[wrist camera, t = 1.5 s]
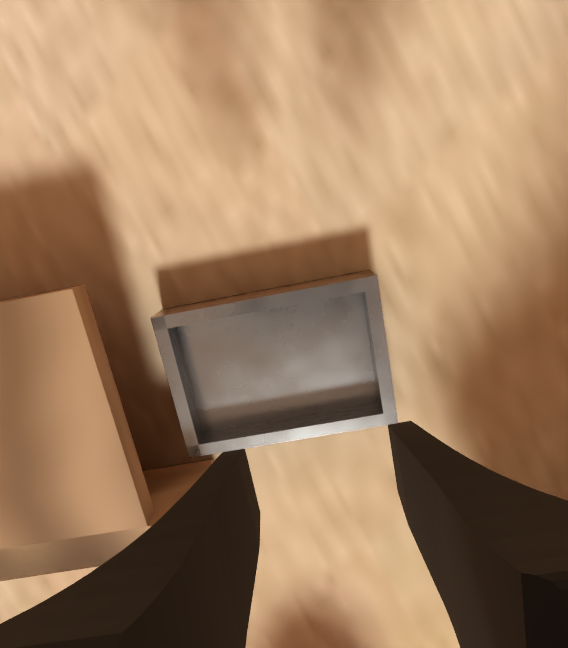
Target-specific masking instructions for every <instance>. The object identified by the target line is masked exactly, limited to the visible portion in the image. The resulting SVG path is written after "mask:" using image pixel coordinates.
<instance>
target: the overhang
mask: <svg viewBox="0 0 568 648" xmlns="http://www.w3.org/2000/svg"><path fill="white" fill-rule="evenodd" d="M212 463H213V459H212V460H206V461H200V462H194V463H188V464H182V465H176V466H170V467H164V468H158V469H152V470H146V471H142V468H141V465H140V462H139V458H138V455H137V452H136V449H135V445H134V442H133V439H132V436H131V433H130V429H129V426H128V423H127V420H126V416H125V413H124V410H123V407H122V403H121V400H120V397H119V394H118V390H117V387H116V384H115V381H114V378H113V374H112V371H111V368H110V365H109V361H108V358H107V355H106V352H105V348H104V345H103V342H102V339H101V335H100V332H99V329H98V326H97V323H96V319H95V316H94V313H93V310H92V306H91V303H90V300H89V297H88V293H87V290H86V287H85V285H80V286H75V287H70V288H65V289H60V290H54V291H49V292H44V293H39V294H34V295H29V296H24V297H19V298H14V299H9V300H3V301H0V581H4V580H11V579H17V578H24V577H31V576H37V575H44V574H51V573H57V572H64V571H70V570H77V569H84V568H90V567H97V566H101V565H102V564H104V563H105V562H106V561H108V560H109V559H111V558H112V557H113V556H115V555H116V554H118V553H119V552H120V551H122V550H123V549H124V548H126V547H127V546H128V545H130V544H131V543H132V542H133V541H135V540H136V539H137V538H138V537H139V536H141V535H142V534H143V533H144V532H145V531H147V530H148V529H149V528H150V527H151V526H152V525H153V524H155V523H156V522H157V521H158V520H159V519H160V518H161V517H162V516H163V515H164V514H165V513H166V512H167V511H168V510H169V509H170V508H171V507H172V506H173V505H174V504H175V503H176V502H177V501H178V500H179V499H180V498H181V497H182V496H183V495H184V494H185V493H186V492H187V491H188V490H189V489H190V488H191V487H192V486H193V484H194V483H195V482H196V481H197V480H198V479H199V478H200V477H201V476H202V475H203V473H204V472H205V471H206V470H207V469H208V468H209V467H210V465H211V464H212Z"/></svg>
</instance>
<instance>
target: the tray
mask: <svg viewBox="0 0 568 648" xmlns="http://www.w3.org/2000/svg"><path fill="white" fill-rule="evenodd" d="M151 321H152V325H153V329H154V332H155V336H156V339H157V343H158V347H159V350H160V354H161V357H162V361H163V365H164V368H165V372H166V375H167V379H168V383H169V386H170V390H171V393H172V397H173V401H174V404H175V408H176V411H177V415H178V419H179V422H180V426H181V429H182V433H183V437H184V440H185V444H186V447H187V451H188V455H189V458H192V457H198V456H204V455H210V454H216V453H222V452H226V451H232V450H238V449H244V448H245V449H246V448H252V447H258V446H264V445H270V444H276V443H282V442H288V441H294V440H300V439H306V438H312V437H318V436H324V435H330V434H336V433H343V432H349V431H355V430H361V429H367V428H373V427H379V426H385V425H389V424H395V423H398V419H397V412H396V405H395V398H394V391H393V384H392V377H391V370H390V363H389V356H388V349H387V342H386V335H385V328H384V321H383V314H382V307H381V300H380V293H379V286H378V279H377V275H376V274H374V273H373V272H372V271H370V270H367V271H362V272H356V273H351V274H346V275H341V276H335V277H330V278H325V279H320V280H314V281H309V282H304V283H299V284H293V285H288V286H283V287H277V288H272V289H267V290H262V291H256V292H251V293H246V294H241V295H235V296H230V297H225V298H220V299H214V300H209V301H204V302H199V303H193V304H188V305H183V306H177V307H172V308H167V309H162V310H161V311H160V312H158V313H157V314H156V315H154V316H153V317H151Z"/></svg>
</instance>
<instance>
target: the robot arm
mask: <svg viewBox="0 0 568 648" xmlns="http://www.w3.org/2000/svg"><path fill="white" fill-rule="evenodd" d="M388 429H389V436H390V442H391V449H392V456H393V462H394V469H395V476H396V482H397V489H398V493H399V496H400V500H401V503H402V506H403V509H404V513H405V516H406V519H407V522H408V525H409V527H410V530H411V532H412V534H413V536H414V539H415V541H416V543H417V545H418V548H419V550H420V552H421V554H422V556H423V559H424V561H425V563H426V565H427V567H428V570H429V572H430V574H431V576H432V578H433V581H434V583H435V585H436V587H437V590H438V592H439V594H440V596H441V598H442V601H443V603H444V605H445V607H446V610H447V612H448V615H449V617H450V620H451V622H452V625H453V627H454V630H455V633H456V636H457V639H458V642H459V645H460V648H568V501H566V500H563V499H561V498H558V497H555V496H552V495H549V494H546V493H543V492H540V491H538V490H535V489H532V488H530V487H527V486H525V485H522V484H520V483H518V482H516V481H513V480H511V479H509V478H506V477H504V476H502V475H500V474H498V473H495V472H493V471H491V470H489V469H487V468H486V467H484V466H482V465H480V464H478V463H476V462H474V461H473V460H471V459H469V458H467V457H465V456H464V455H462V454H460V453H459V452H457V451H455V450H454V449H452V448H451V447H449V446H447V445H446V444H444V443H443V442H441V441H440V440H438V439H437V438H435V437H434V436H432V435H431V434H429V433H428V432H426V431H425V430H423V429H422V428H421V427H419V426H418V425H416V424H415V423H413V422H412V421H407V422H401V423H395V424H389V425H388ZM259 546H260V510H259V506H258V501H257V497H256V493H255V489H254V485H253V481H252V476H251V472H250V468H249V464H248V460H247V456H246V452H245V448H244V449H238V450H232V451H226V452H223V453H222V454H221V455H220V456H219V457H218V458H217V459H216V460H215V461H214V462H213V463H212V464H211V465H210V467H209V468H208V469H207V470H206V471H205V472H204V473H203V475H202V476H201V477H200V478H199V479H198V480H197V481H196V482H195V483H194V484H193V486H192V487H191V488H190V489H189V490H188V491H187V492H186V493H185V494H184V495H183V496H182V497H181V498H180V499H179V500H178V501H177V502H176V503H175V504H174V505H173V506H172V507H171V508H170V509H169V510H168V511H167V512H166V513H165V514H164V515H163V516H162V517H161V518H160V519H159V520H158V521H157V522H156V523H155V524H153V525H152V526H151V527H150V528H149V529H148V530H147V531H145V532H144V533H143V534H142V535H141V536H139V537H138V538H137V539H136V540H135V541H133V542H132V543H131V544H130V545H128V546H127V547H126V548H124V549H123V550H122V551H120V552H119V553H118V554H116V555H115V556H113V557H112V558H111V559H109V560H108V561H106V562H105V563H104V564H102V565H101V566H99V567H98V568H96V569H95V570H94V571H92V572H91V573H89V574H88V575H86V576H85V577H83V578H82V579H80V580H78V581H77V582H75V583H74V584H72V585H70V586H69V587H67V588H66V589H64V590H62V591H60V592H59V593H57V594H55V595H54V596H52V597H50V598H49V599H47V600H45V601H43V602H41V603H40V604H38V605H36V606H34V607H32V608H31V609H29V610H27V611H25V612H23V613H21V614H19V615H17V616H15V617H13V618H11V619H9V620H7V621H5V622H3V623H1V624H0V648H245V646H246V637H247V629H248V622H249V616H250V609H251V602H252V596H253V589H254V582H255V576H256V569H257V562H258V555H259Z"/></svg>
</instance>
